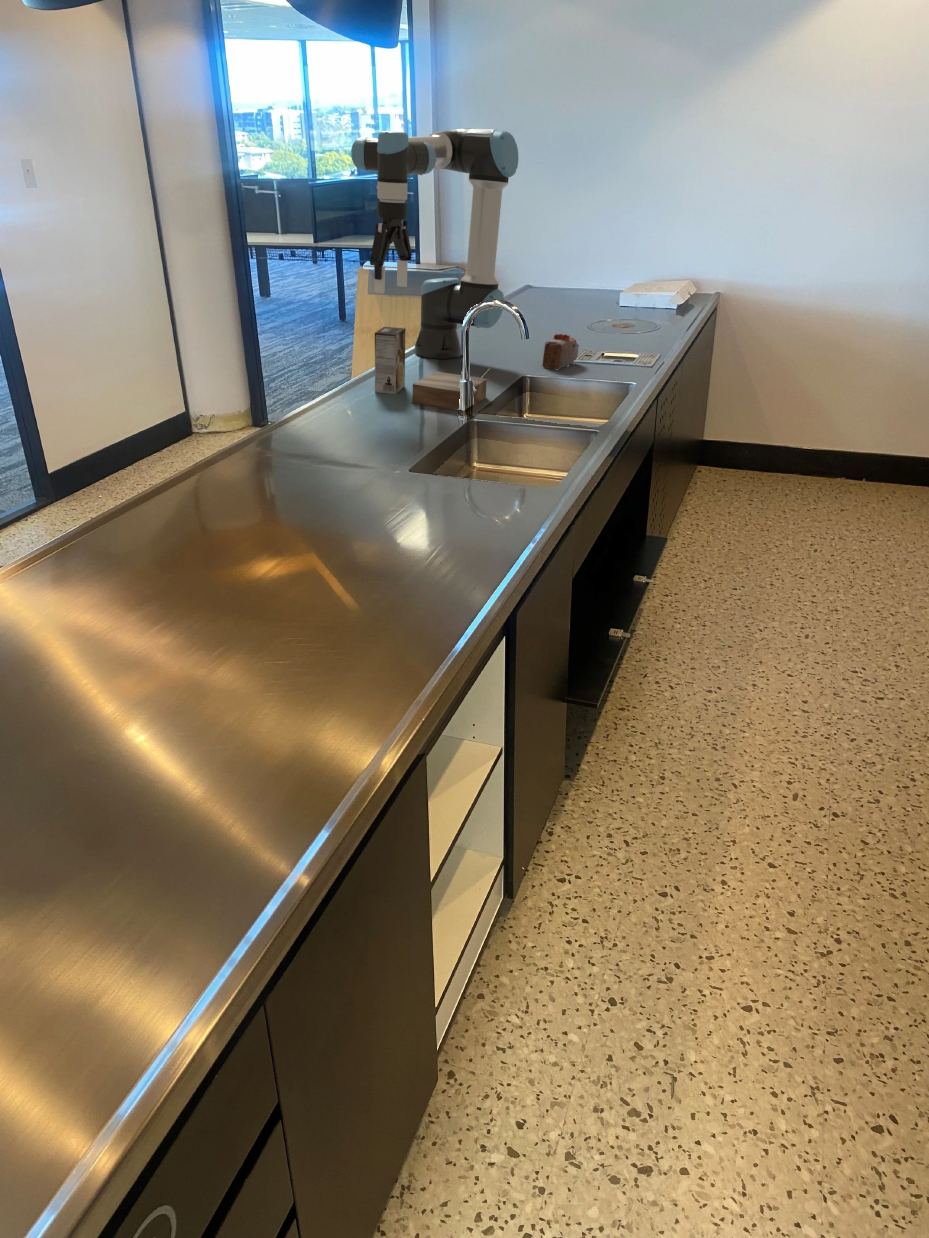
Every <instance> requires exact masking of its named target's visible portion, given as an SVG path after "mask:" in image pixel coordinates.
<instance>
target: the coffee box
mask: <svg viewBox="0 0 929 1238" xmlns="http://www.w3.org/2000/svg"><path fill="white" fill-rule="evenodd" d="M405 374H406V328H405V327H391V326H383V327H381V328H380V329H378V330H377V331H376V332H374V393H378V394H380V393H381V394H391V395H397V394H398V393H399V392H400V391H401V390H402V389H403V388H404V387H405V386H406V382H405V381H406V375H405Z"/></svg>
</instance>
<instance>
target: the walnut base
mask: <svg viewBox="0 0 929 1238" xmlns="http://www.w3.org/2000/svg"><path fill="white" fill-rule="evenodd" d="M461 375H462V374H455V373H448V372H442V371H435V372H433V373H432V374H430V375H427V376H426V377H423V378H422V379H419V380H418V381H416V382H413V383H412V396H411V397H412V399H411V403H412V404H416V405H417V404H418V405H424V406H429V407H434V408H443V409H449V410H454V411H458V410H457V409H458V408H459V399H460V388H459V381H460V378H461ZM470 377H471V380H472V382H473V383H474V387H475V389H477V392H476V393H475V394H474V405H473V406H475V405H477V404H478V403H479V402H481V401H482V400H484V399H486V398H487V384H488V378H482V377H481V378H480V377H475V376H470Z"/></svg>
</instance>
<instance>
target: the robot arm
mask: <svg viewBox="0 0 929 1238" xmlns="http://www.w3.org/2000/svg"><path fill="white" fill-rule="evenodd" d="M350 152H351V161H352V163H353V165H354V167H356V168H357V169H358V170H362V171H367V172H368V171H371V172H377V185H376V187H375V188H376V189H377V199H379V200H378V202H377V203H376V205H377V207H376V214H377V215H376V216H377V217H378V218H380V219H382V221H381V222H376V223H375V229H374V230H375V232H374V237H373V243H372V246H371V247H372V248H371V253H370V257H369V264H370V266H373V273H374V274H373V276H374V277H373V292H374V293H377V294H386V292H385V291H386V283H385V282H386V266H384V264H385V262H386V257H387V255H388V252H389V249H390V246H391V245H392V244H393V247H394V248H395V251H396V254H397V257H398V259H397V260H396V265H397V266H396V286H397V287H401V288H402V287H403V288H407V287H408V264H409V263H408V261H409V262H410V261H412V255H413V254H412V247H411V241H410V238H409V237H410V236H409V232H408V221H407V220H405V219H407V217H408V204H407V202H406V201H407V200H408V175H419V176H422V175H428V174H430V173H431V172H432V171H433V170H434V169H435V170H446V171H447V170H449V171H453V172H458V173H464V174H468V181H469V182H470V184H471V186H472V188H473V189H472V198H471V211H470V222H469V223H470V224H469V236H468V237H469V238H468V247H467V248H468V251H467V261H466V273H465V274H464V276H462V277H461V278H460V279H459V278H457V277H439V278H431V279H430V278H429V279H427V280H424V281H423V282H422V285H421V293H420V296H421V297H420V299H421V300H420V329H419V331H418V335H417V337H416V341H415V345H414V354H415V355H417V356H420V357H424V358H427V359H428V358H430V359H436V360H437V359H439V360H440V359H441V360H445V359H448V360H449V359H455V358H458V357H460V356H462V346H461V342H460V339H459V334H458V330H457V329H458V325H463V320H464V317H465V316H466V314H467V312H468V311H469V310H470V308H471V307H473V306H474V305H476V304H479V303H480V302H483V301H486V300H493V299H497V300H503V301H504V302H505V297H504V293H503V291H502V290H500V289H499V281H498V280H497V279H496V277H495V273H496V271H495V270H496V261H497V260H496V259H497V252H498V251H497V250H498V241H499V239H498V238H499V229H500V218H501V208H502V200H503V199H502V198H503V197H502V196H503V190H504V189H505V188H506V186H508V185H509V179H510V178H512V177H513V176H514V175H515V174H516V172H517V169H518V166H519V148H518V145H517V141H516V140H515V137H514V136H513V135H512V133H510V132H509V131H507V130H500V129H498V128H497V129H491V128H490V129H486V128H485V129H484V128H469V127H468V128H467V127H461V128H455V129H449V130H441V131H434V132H432V133H430V134H429V135H427V136H425V135H422V136H409V135H408V134H407V132H405V131H402V132H400V131H387V130H382V131H380V132H378V136H377V138H372V137H371V138H370V137H358V138H356V139H355V140H354V142H353V143H352V146H351V151H350ZM503 311H504V308H503V309H500V308H493V309H488V310H484V311H481V312H480V313H478V314H477V315H476V317H474V319H473V323H472V324H471V326H470V327H475V328H477V329H479V328H483V329H490V328H493V327H494V326H495V325H496V324H497V323H498V321H499V320H500V318H501V316H502V314H503Z"/></svg>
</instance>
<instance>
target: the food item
mask: <svg viewBox="0 0 929 1238" xmlns="http://www.w3.org/2000/svg"><path fill="white" fill-rule="evenodd" d="M579 346H580V345H579V344H578V343H577V339H575V338H574V337H572V336H571V335H568V334H562V333H561V334H560V333H559V334H558V333H555V334H554V335H553V338H552V339H551V340H548V341H545V342H544V348H543V356H542V364H541V365H542V368H545V369H549V368H551V369H550V370H555V369H559V370H560V368H561V367H562V368H565V367H564V366H568V365H569V364H570V365H572V364H573V363H574V362H575V361H576V360H577V358H578V357H579V356H578V354H579ZM572 362H573V363H572ZM570 365H569V366H570ZM569 366H568V367H569ZM562 368H561V369H562Z"/></svg>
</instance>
